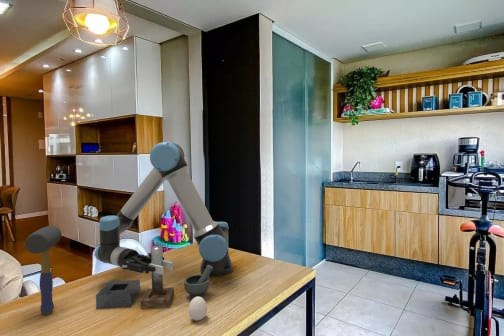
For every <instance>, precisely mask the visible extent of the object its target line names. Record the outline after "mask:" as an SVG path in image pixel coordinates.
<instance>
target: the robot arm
mask: <svg viewBox="0 0 504 336" xmlns="http://www.w3.org/2000/svg"><path fill="white" fill-rule="evenodd" d="M149 160H150V163H151V165H152V167H153V168H152V169H151V171H150V172H149V173H148V174H147V176H146V177H145V178H144V179H143V180H142V182H141V183H140V184H139V186H138V187H137V188H136V190H135V191H134V192H133V194H132V195H131V196H130V197H129V199H128V200H127V201H126V203H125V204H124V205H123V206H122V208H121V209H120V211H119V212H118V213H117V214H116V215H106V216H101V217H100V219H99V225H98V228H99V245H98V246H97V247H96V249H95V250H94V256H95V259H96V260H97V261H99V262H102V264H103V263H104V264H108V265H113V266H116V267H119V268H121V269H122V270H128V271H131V272H135V273H140V274H142V273H143V274H144V272H145V274H150V273H152V272H154V273H158V274H161V275H163V276H164V274H165V272H164V271H165V270H164V269H166V270H168V271H173V270H174V262H173V261H170V260H169V261H168V260H166V259H165V257H164V256H163V266H159V265H155V264H152V261H151V252H148V253H147V255H146V254H141V253H139V252H138V250H136V249H133V248H128V247H125V246H121V245H120V243H121V241H120V238H121V237H120V235H121V234H123V233H124V232H125V231H127V230H129V229H130V228H131V227H132V225H133V223H134V221H135V220H136V218H137V216H139V214H140V213H141V211H143V209H144V208H145V207H146V205H147V204H148V203H149V202H150V200H151V199H152V198H153V196H154V195H155V194H156V193H157V191H158V190H159V189H160V187H161V186H162V185H163V184H164V183H165V181H167V182H168V184H169V185H170V187H171V189H172V190H173V191H172V192H173V193H174V194H175V197H176V198H177V200H178V202H179V204H180V206H181V208H182V210H183V212H184V214H185V215H186V217H187V218H188V221H189V223H190V224H191V226H192V229H193V231H194V233H193V237H194V240H195V242H196V243H197V246H198V252H199V256H200V257H202V260H201V263H200V267H199V268H200V269H199V271H200V274H201V275H202V274H203V273H204V271H205V269H206V266H207V265H210V266H212V267H213V269H212V270H211V272H210V274H209V277H223V276H226V275H228V274H231V272H232V271H233V262H232V260H231V257H230V254H229V229H230V228H229V224H228V223H227V222H226V221H215V220H213V219H212V216H211V215H210V213H209V210H208V209H207V207H206V205H205V203H204V202H203V200H202V197H201V195H200V194H199V192H198V190H197V188H196V186H195V184H194V183H193V181H192V179H191V176H190V175H189V172H188V167H189V165H188V163H187V161H186V159H185V151H184V149H183V148H182V147H181V146H180V145H179V144H177V143H174V142H170V141H161V142H158V143H156V144H155V145H154V146H153V147H152V149H151V151H150V154H149Z"/></svg>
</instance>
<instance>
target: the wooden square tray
mask: <svg viewBox="0 0 504 336" xmlns="http://www.w3.org/2000/svg"><path fill="white" fill-rule="evenodd" d="M174 295H175V287H172V286H171V287H169V286H168V287H167V286H166V287H163V290H162V291H159V292H153V291H152V287H150V288H147V289H146V291H145V292H144V294H143V296H142V298H141V299H140V310H147V309H148V310H150V309H151V310H152V309H165V308H166V309H167V308H170V307H171V303H172V302H173V299H174Z"/></svg>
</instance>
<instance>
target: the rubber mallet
mask: <svg viewBox="0 0 504 336" xmlns="http://www.w3.org/2000/svg"><path fill="white" fill-rule="evenodd" d="M62 236H63V235H62V231H61V229H60V228H59V227H58V226H55V225H47V226H45V227H42V228H39V229H37V230H36V231H34V232H32V233H31V234H30V235H29V236H28V237H27V238H26V239H25V242H24V248H25V249H26V250H27V251H28V252H29V253H31V254H40V267H41V269H40V271H41V272H40V275H39V291H40V299H41V300H40V302H41V303H40V308H39V311H40V312H41V314H42V315H50V314H51V313H53V310H54V309H55V305H54V302H53V288H54V287H53V286H54V285H53V284H54V283H53V282H54V281H53V276H52V275H53V274H52V271H51V256H50V255H51V254H50V249H51V248H52V247H54V246H55V245H56V244H57V243H59V242H60V240H61V239H62Z"/></svg>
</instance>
